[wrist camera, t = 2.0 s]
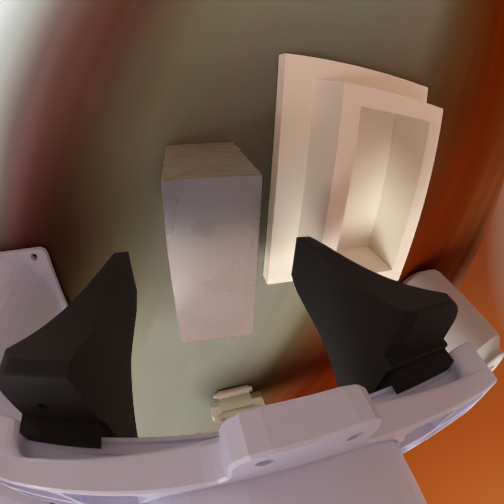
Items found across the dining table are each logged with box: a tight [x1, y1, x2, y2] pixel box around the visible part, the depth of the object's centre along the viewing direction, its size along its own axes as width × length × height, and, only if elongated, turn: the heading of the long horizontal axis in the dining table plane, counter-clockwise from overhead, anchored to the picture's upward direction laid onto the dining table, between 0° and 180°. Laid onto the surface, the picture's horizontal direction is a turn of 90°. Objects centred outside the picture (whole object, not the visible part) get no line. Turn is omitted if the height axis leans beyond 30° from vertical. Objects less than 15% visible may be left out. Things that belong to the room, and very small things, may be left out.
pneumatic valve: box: [199, 385, 265, 434], centre depth 23 cm, size 6×12×12 cm, turn 97°
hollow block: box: [263, 53, 443, 284], centre depth 16 cm, size 10×14×4 cm
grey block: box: [161, 142, 263, 343], centre depth 14 cm, size 4×8×6 cm, turn 177°
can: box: [403, 269, 504, 371], centre depth 22 cm, size 8×8×12 cm
